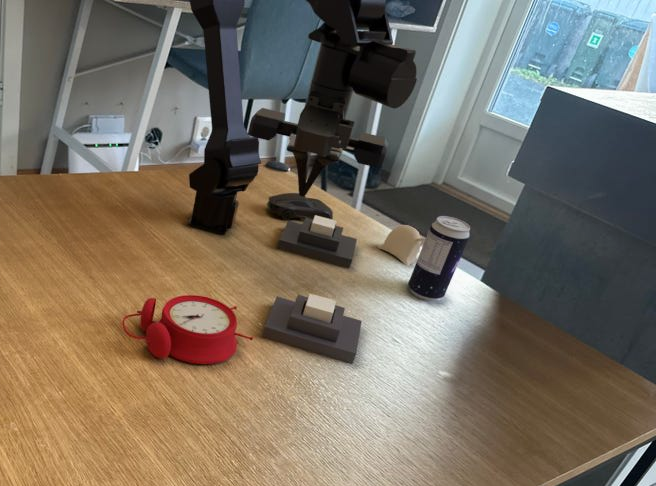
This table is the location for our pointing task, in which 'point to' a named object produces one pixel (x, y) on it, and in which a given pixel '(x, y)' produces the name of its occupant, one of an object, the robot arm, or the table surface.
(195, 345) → the alarm clock
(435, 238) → the beverage can
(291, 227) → the back keypad
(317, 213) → the toy car
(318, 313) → the front key
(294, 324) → the front keypad
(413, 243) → the decorative ornament
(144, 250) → the table surface
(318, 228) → the back key
